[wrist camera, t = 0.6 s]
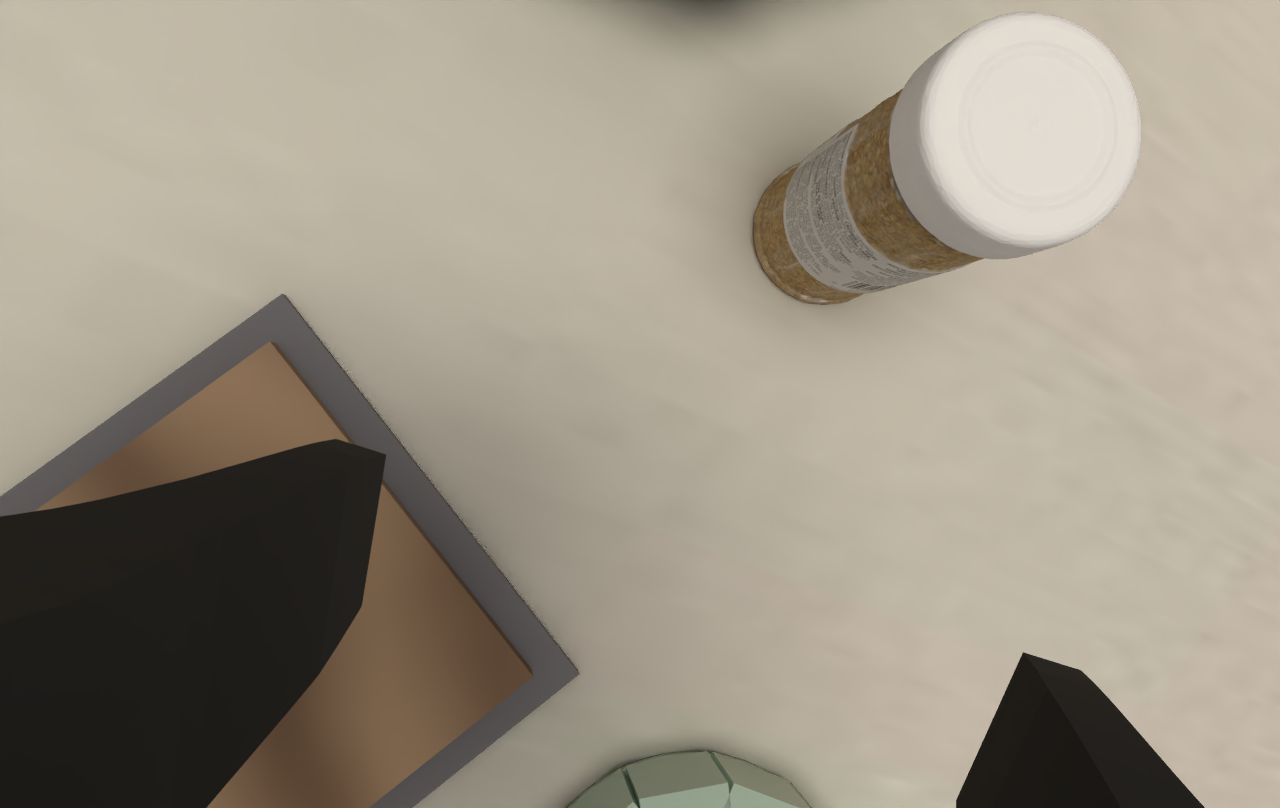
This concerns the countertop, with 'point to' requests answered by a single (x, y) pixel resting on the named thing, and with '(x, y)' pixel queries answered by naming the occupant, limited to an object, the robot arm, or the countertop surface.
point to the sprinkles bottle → (959, 165)
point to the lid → (381, 631)
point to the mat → (399, 474)
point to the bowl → (691, 785)
